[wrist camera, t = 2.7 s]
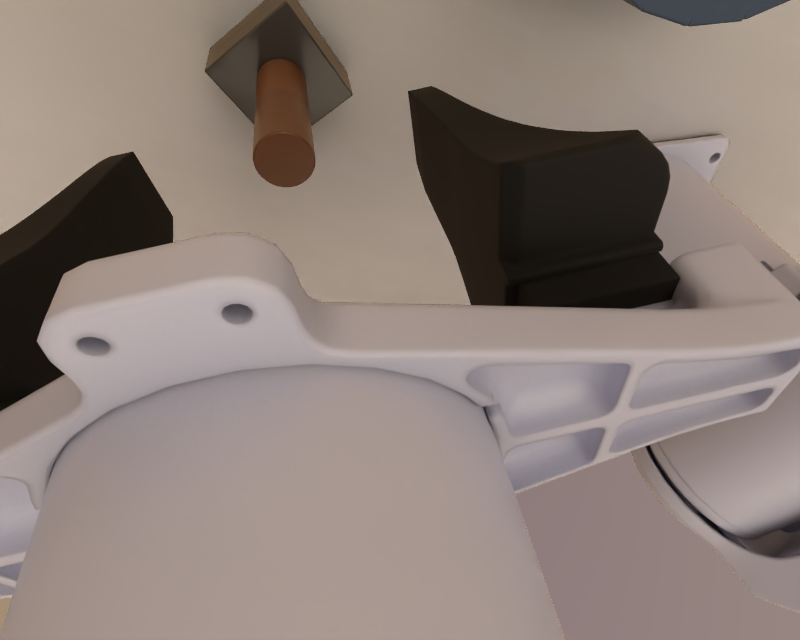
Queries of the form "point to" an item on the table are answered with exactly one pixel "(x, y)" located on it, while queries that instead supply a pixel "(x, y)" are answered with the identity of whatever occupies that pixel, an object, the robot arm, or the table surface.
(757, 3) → the jar
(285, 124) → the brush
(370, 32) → the table surface
